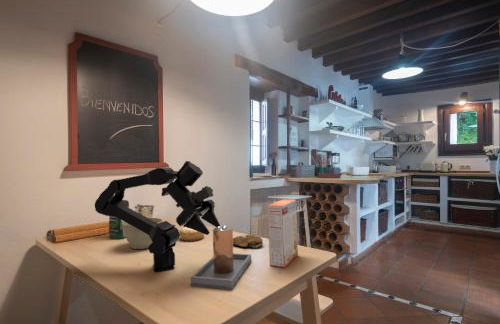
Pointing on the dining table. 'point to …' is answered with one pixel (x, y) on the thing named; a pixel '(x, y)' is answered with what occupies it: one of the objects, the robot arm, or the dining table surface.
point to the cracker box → (282, 232)
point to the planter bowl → (138, 235)
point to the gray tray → (222, 281)
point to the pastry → (190, 234)
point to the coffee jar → (117, 225)
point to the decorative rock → (248, 241)
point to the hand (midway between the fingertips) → (214, 230)
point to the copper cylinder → (223, 249)
